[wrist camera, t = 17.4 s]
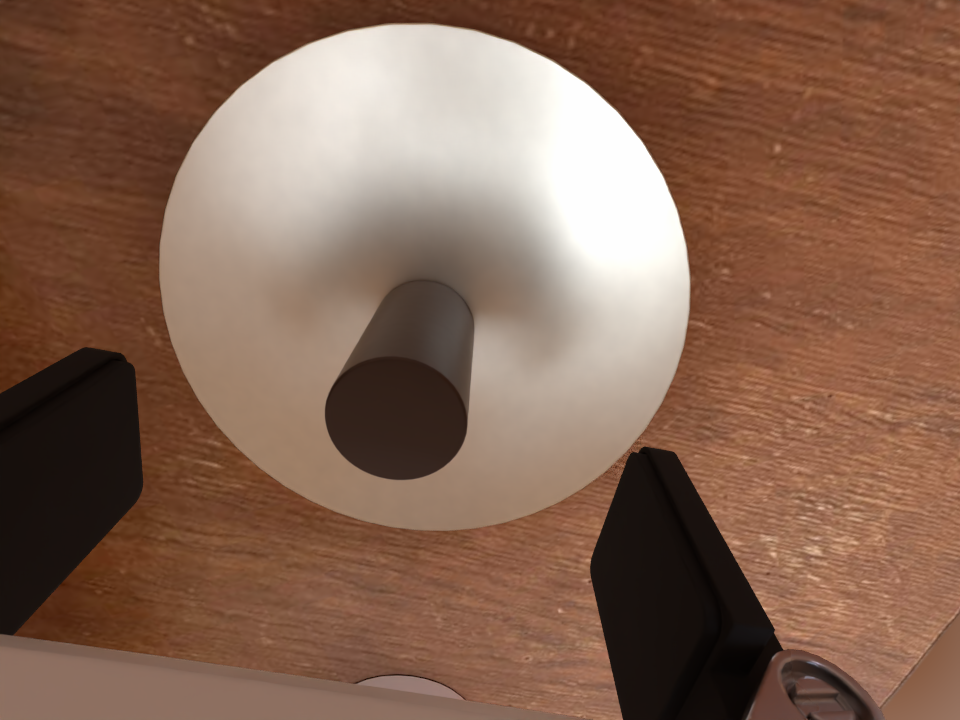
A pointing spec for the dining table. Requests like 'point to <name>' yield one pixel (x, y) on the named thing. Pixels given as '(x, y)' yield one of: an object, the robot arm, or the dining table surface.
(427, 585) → the dining table surface
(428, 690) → the cylindrical container
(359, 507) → the lid
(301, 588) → the dining table surface
